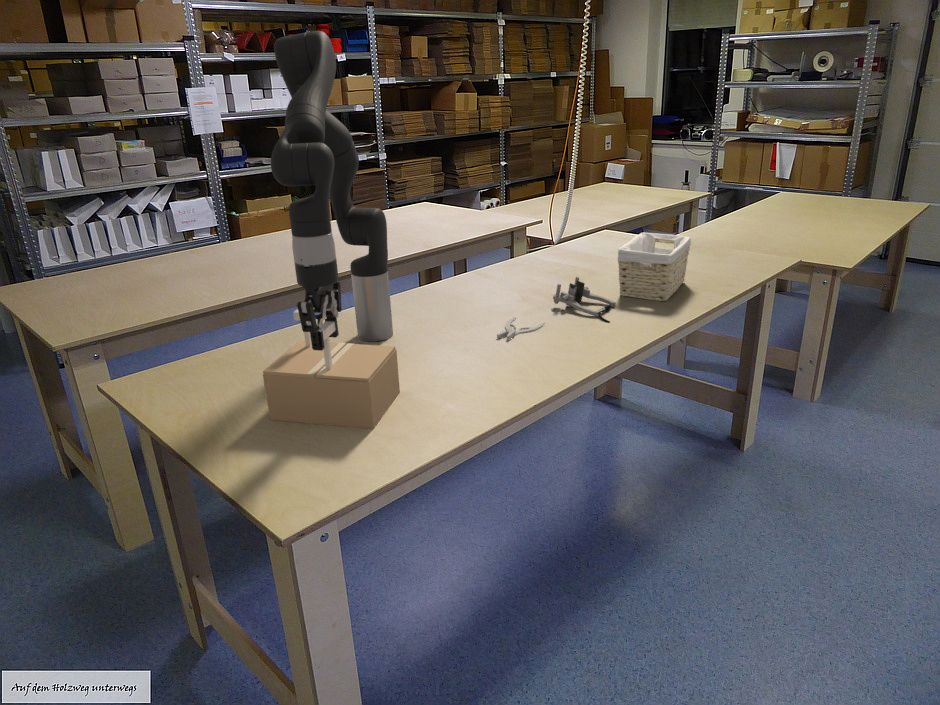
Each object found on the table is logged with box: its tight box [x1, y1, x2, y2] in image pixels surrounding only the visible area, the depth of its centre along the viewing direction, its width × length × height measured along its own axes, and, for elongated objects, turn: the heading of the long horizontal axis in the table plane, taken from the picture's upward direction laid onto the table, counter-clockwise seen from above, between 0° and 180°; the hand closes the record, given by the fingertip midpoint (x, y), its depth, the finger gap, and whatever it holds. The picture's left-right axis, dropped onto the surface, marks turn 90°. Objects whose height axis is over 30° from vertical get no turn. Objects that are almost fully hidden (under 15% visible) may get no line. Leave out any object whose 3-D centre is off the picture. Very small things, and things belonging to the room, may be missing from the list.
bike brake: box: [552, 276, 617, 324], centre depth 186 cm, size 14×7×20 cm
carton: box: [262, 308, 401, 430], centre depth 134 cm, size 16×22×19 cm
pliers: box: [496, 317, 546, 342], centre depth 174 cm, size 10×2×15 cm
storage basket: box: [617, 232, 692, 302], centre depth 199 cm, size 24×16×15 cm
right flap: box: [315, 321, 396, 381], centre depth 131 cm, size 16×11×9 cm
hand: (325, 342), depth 127 cm, fingers closed on right flap, 6 cm apart
